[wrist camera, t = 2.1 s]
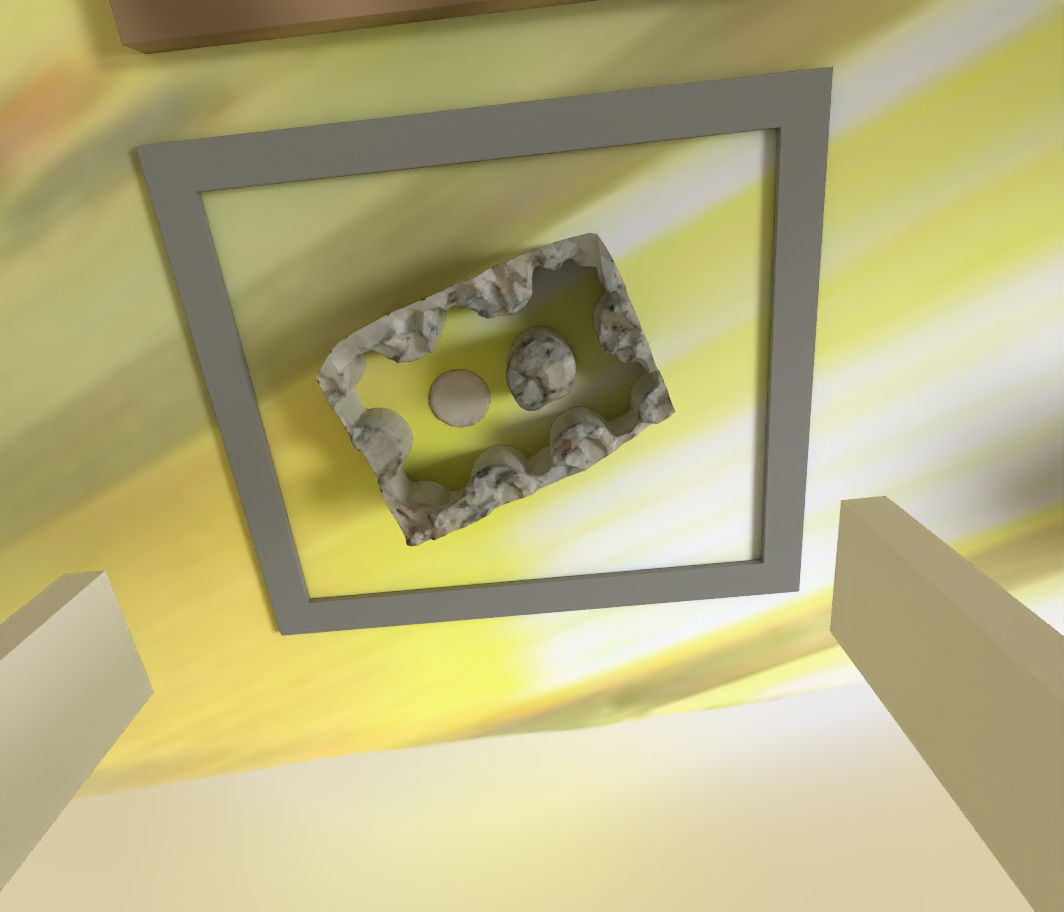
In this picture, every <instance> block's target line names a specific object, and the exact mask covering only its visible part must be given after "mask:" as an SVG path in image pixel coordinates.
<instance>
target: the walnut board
mask: <svg viewBox="0 0 1064 912" xmlns="http://www.w3.org/2000/svg"><path fill="white" fill-rule="evenodd" d="M586 1H594V0H110V4H111V7H112V11H113V14H114V18H115V21H116V24H117V28H118V31H119V35H120V38H121V42H122V45H125V46H127V47H130V48H132V49H135V50H137V51H140V52H142V53H145V54H149V53H158V52H166V51H174V50H183V49H191V48H200V47H208V46H216V45H225V44H233V43H242V42H250V41H258V40H267V39H275V38H284V37H292V36H300V35H309V34H317V33H326V32H334V31H342V30H351V29H359V28H368V27H376V26H384V25H393V24H401V23H410V22H418V21H426V20H435V19H443V18H452V17H460V16H468V15H477V14H485V13H493V12H502V11H510V10H519V9H527V8H535V7H544V6H552V5H561V4H569V3H577V2H586Z"/></svg>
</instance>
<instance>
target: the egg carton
mask: <svg viewBox="0 0 1064 912" xmlns="http://www.w3.org/2000/svg"><path fill="white" fill-rule="evenodd" d="M566 259H569V260H570V261H572V262H573V263H575V264H577V265H580V266H585V267H596V269H597V272H598V276H599V280H600V282H601V284H602V286H603V287H604V288H605V289H606V292H605V293H604V294H603V295H602V296H601V297H600V299H599V300H598V302H597V305H596V307H595V310H594V314H593V325H594V329H595V331H596V333H597V335H598V337H599V342H600V344H601V346H602V348H603V350H604V352H605V353H606V354H609V353H611V354H613V355H615V356H616V357H617V358H618V359H619V361H621V362H624V363H632V362H638V363H641V365H642V366H643V367H644V369H645V370H646V372H645V373H644V374H643V375H642V376H641V377H640V378H639V379H638V380H637V381H636V383H635V384H634V386H633V388H632V390H631V395H630V402H631V409H630V410H629V411H627V412H626V413H624V414H623V415H621V416H619V417H617V418H614V419H611V420H608V421H606V420H605V419H604V418H603V417H602V416H601V415H600V414H599V413H598V412H596V411H594V410H592V409H589V408H586V407H577V408H571V409H568V410H566V411H565V412H563V413H561V414H560V415H559V416H558V417H557V418H556V419H555V421H554V423H553V424H552V426H551V432H550V444H549V445H548V446H546V447H544V448H543V449H541V450H540V451H539V452H537V453H536V454H535V455H533V456H531V457H529V458H527V457H526V456H525V454H524V453H522V452H521V451H520V450H518V449H517V448H514V447H511V446H505V445H495V446H492V447H489V448H487V449H486V450H484V451H483V452H482V453H481V454H480V455H479V456H478V457H477V459H476V461H475V462H474V465H473V468H472V472H471V477H470V481H469V482H468V483H467V485H466V487H465V488H463V489H460V490H456V491H449V490H448V489H447V488H446V487H445V486H443V485H442V484H439V483H437V482H434V481H416V482H412V481H410V479H409V478H408V476H407V474H406V473H405V471H404V469H403V468H402V465H403V463H404V461H405V459H406V457H407V455H408V453H409V451H410V449H411V447H412V442H413V434H412V431H411V428H410V426H409V424H408V423H407V421H406V420H405V419H404V418H403V417H402V416H401V415H399V414H398V413H397V412H395V411H393V410H391V409H386V408H373V409H369V410H367V409H366V408H365V407H364V406H363V405H362V403H361V400H360V398H359V397H358V395H357V393H356V391H355V385H356V384H357V383H358V381H359V380H360V379H361V378H362V376H363V374H364V372H365V368H366V357H365V354H364V353H365V352H367V351H369V350H374V351H376V352H379V353H380V354H382V355H384V356H385V357H387V358H388V359H391V360H394V361H396V362H397V363H400V362H411V361H415V360H417V359H420V358H421V357H423V356H425V355H426V354H428V353H429V352H430V353H432V352H433V349H434V346H435V344H436V342H437V340H438V339H439V338H440V336H441V335H442V332H443V330H444V327H445V321H446V317H445V311H447V310H448V309H449V308H450V307H452V306H453V305H454V306H457V307H459V308H466V307H469V308H471V309H473V310H475V311H477V312H478V314H479V316H482V317H485V318H492V317H495V316H504V315H514V314H515V313H517V312H518V311H519V310H521V309H522V308H523V307H524V306H525V305H526V304H527V302H528V301H529V299H530V298H531V297H532V275H533V270H534V268H535V267H536V266H538V265H540V266H542V267H544V268H547V269H550V270H553V271H554V270H556V269H558V268H560V267H561V265H562V263H563V261H565V260H566ZM457 298H459V299H458V300H457V301H456V302H455V303H453V304H452V302H453V301H454V300H455V299H457ZM572 352H573V350H572V348H571V346H570V344H569V343H568V341H567V340H566V339H565V338H564V337H563V336H562V335H561V334H560V333H558V332H557V331H555V330H552V329H550V328H547V327H534V328H531V329H528V330H526V331H524V332H522V333H521V334H520V335H519V336H518V338H517V339H516V340H515V341H514V343H513V345H512V347H511V349H510V353H509V357H508V363H507V371H506V380H507V384H508V387H509V389H510V391H511V393H512V395H513V397H514V399H515V401H516V402H517V403H518V405H519V406H520V407H521V408H523V409H525V410H527V411H535V410H539V409H540V408H542V407H543V406H544V405H546V404H547V403H550V402H552V401H555V400H558V399H560V398H562V397H564V396H565V395H566V394H568V393H569V391H570V388H571V386H572V384H573V382H574V380H575V375H576V365H575V359H574V356H575V354H574V352H573V353H572ZM573 354H574V356H573ZM316 378H317V381H318V383H319V385H320V387H321V388H322V390H323V392H324V394H325V396H326V398H327V400H328V402H329V405H330V407H331V408H332V409H333V410H335V412H336V413H337V415H338V416H339V418H340V419H341V421H342V423H343V424H344V426H345V428H346V430H347V432H348V434H349V436H350V439H351V442H352V443H353V445H354V446H355V448H356V449H357V450H359V451H360V450H362V452H363V454H364V456H365V457H366V459H367V461H368V463H369V464H370V466H371V467H372V469H373V471H374V472H375V474H376V475H377V477H378V484H379V487H380V490H381V493H382V495H383V498H384V500H385V502H386V504H387V506H388V508H389V509H390V511H391V513H392V514H393V516H394V517H395V519H396V520H397V522H398V524H399V526H400V528H401V530H402V532H403V533H404V535H405V537H406V543H407V545H408V546H417V545H420V544H422V543H424V542H425V541H427V540H430V539H432V540H436V539H438V538H440V537H443V536H445V535H447V534H448V533H450V532H452V531H454V530H458V529H461V528H464V527H466V526H468V525H470V524H472V523H474V522H476V521H478V520H480V519H481V518H483V517H486V516H488V515H489V514H490V513H491V512H492V511H493V509H494V508H497V507H499V506H501V505H503V504H506V503H509V502H512V501H514V500H517V499H521V498H524V497H527V496H529V495H532V494H533V493H535V492H536V491H537V490H538V489H540V488H542V487H544V486H547V485H549V484H552V483H554V482H557V481H559V480H561V479H563V478H565V477H567V476H570V475H573V474H576V473H579V472H582V471H584V470H586V469H588V468H589V467H591V466H592V465H594V464H595V463H597V462H598V461H600V460H601V459H603V458H605V457H606V456H608V455H609V454H611V453H612V452H613V451H615V450H616V449H617V448H619V447H620V446H621V445H622V444H624V443H625V442H627V441H629V440H631V439H632V438H634V437H635V436H636V435H638V434H639V433H640V432H641V431H642V430H643V429H644V428H645V427H647V426H648V425H650V424H652V423H654V424H658V423H660V422H662V421H664V420H665V419H667V418H668V417H670V416H671V415H672V414H673V413H674V412H675V410H674V408H673V406H672V403H671V400H670V397H669V394H668V391H667V388H666V386H665V383H664V381H663V378H662V376H661V374H660V371H659V369H657V367H656V365H655V362H654V359H653V356H652V353H651V350H650V347H649V344H648V342H647V339H646V337H645V335H644V333H643V331H642V329H641V326H640V323H639V321H638V318H637V316H636V313H635V311H634V309H633V306H632V304H631V302H630V299H629V297H628V295H627V292H626V287H625V284H624V282H623V280H622V278H621V276H620V273H619V271H618V269H617V267H616V265H615V263H614V261H613V259H612V257H611V255H610V253H609V252H608V250H607V249H606V247H605V246H604V244H603V242H602V241H601V239H600V238H599V236H598V234H593V233H588V234H584V235H580V236H576V237H572V238H568V239H564V240H561V241H558V242H555V243H552V244H549V245H546V246H543V247H541V248H538V249H535V250H532V251H529V252H527V253H524V254H522V255H520V256H517V257H515V258H513V259H511V260H509V261H508V262H506V263H503V264H500V265H496V266H494V267H492V268H490V269H488V270H486V271H485V272H483V273H482V274H480V275H479V276H476V277H474V278H472V279H469V280H466V281H463V282H460V283H457V284H455V285H452V286H450V287H448V288H446V289H445V290H443V291H440V292H438V293H436V294H434V295H431V296H429V297H427V298H424V299H422V300H420V301H418V302H415V303H413V304H411V305H408V306H406V307H404V308H401V309H399V310H396V311H394V312H391V313H389V314H387V315H385V316H384V317H382V318H380V319H378V320H376V321H374V322H373V323H371V324H369V325H367V326H365V327H363V328H362V329H360V330H358V331H356V332H354V333H353V334H351V335H350V336H348V337H346V338H345V339H343V340H342V341H340V342H339V343H338V344H337V345H336V346H335V347H334V348H333V349H332V351H331V352H330V353H329V355H328V357H327V359H326V360H325V362H324V364H323V366H322V367H321V369H320V371H319V372H318V374H317V375H316ZM429 400H430V405H431V408H432V410H433V412H434V413H435V415H436V416H437V417H438V419H440V420H443V422H445V423H447V424H448V425H450V426H456V427H466V426H471V425H474V424H475V423H476V422H478V421H480V420H481V418H483V417H484V416H485V414H486V412H487V410H488V408H489V404H490V393H489V390H488V386H487V385H486V384H485V383H484V381H483V380H482V379H481V378H480V377H478V376H477V375H475V374H474V373H472V372H470V371H465V370H451V371H448V372H445V373H443V374H442V375H441V376H439V377H438V378H437V379H436V381H435V382H434V383H433V385H432V388H431V392H430V397H429Z"/></svg>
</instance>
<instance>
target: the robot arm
mask: <svg viewBox="0 0 1064 912" xmlns="http://www.w3.org/2000/svg"><path fill="white" fill-rule="evenodd" d="M830 632H831V633H832V634H833V636H834V637H835V639H836V640H837V641H838V643H839V644H840V645H841V647H842V648H843V649H844V651H845V652H846V654H847V655H848V656H849V658H850V659H851V660H852V662H853V663H854V665H855V666H856V667H857V669H858V670H859V671H860V673H861V674H862V675H863V677H864V678H865V680H866V681H867V682H868V683H869V685H870V686H871V688H872V689H873V691H874V692H875V693H876V695H877V696H878V697H879V699H880V700H881V701H882V703H883V704H884V706H885V707H886V708H887V710H888V711H889V712H890V714H891V715H892V716H893V718H894V719H895V721H896V722H897V723H898V725H899V726H900V727H901V729H902V730H903V732H904V733H905V734H906V736H907V737H908V738H909V740H910V741H911V743H912V744H913V745H914V747H915V748H916V749H917V751H918V752H919V753H920V755H921V756H922V758H923V759H924V760H925V762H926V763H927V765H928V766H929V767H930V768H931V770H932V771H933V773H934V774H935V775H936V777H937V778H938V779H939V781H940V782H941V784H942V785H943V786H944V788H945V789H946V790H947V792H948V793H949V794H950V796H951V797H952V799H953V800H954V801H955V803H956V804H957V806H958V807H959V808H960V810H961V811H962V812H963V814H964V815H965V817H966V818H967V819H968V821H969V822H970V823H971V825H972V826H973V827H974V829H975V830H976V832H977V833H978V834H979V836H980V837H981V838H982V840H983V841H984V842H985V844H986V845H987V847H988V848H989V849H990V851H991V852H992V854H993V855H994V856H995V858H996V859H997V860H998V862H999V863H1000V864H1001V866H1002V867H1003V869H1004V870H1005V871H1006V873H1007V874H1008V875H1009V877H1010V878H1011V880H1012V881H1013V882H1014V884H1015V885H1016V886H1017V887H1018V889H1019V890H1020V892H1021V893H1022V895H1023V896H1024V897H1025V899H1026V900H1027V901H1028V903H1029V904H1030V906H1031V907H1032V908H1033V910H1034V911H1035V912H1064V636H1063V635H1061V634H1060V633H1059V632H1058V631H1056V630H1055V629H1054V628H1052V627H1051V626H1050V625H1049V624H1047V623H1046V622H1045V621H1044V620H1042V619H1041V618H1040V617H1039V616H1037V615H1036V614H1035V613H1033V612H1032V611H1031V610H1030V609H1028V608H1027V607H1026V606H1025V605H1023V604H1022V603H1021V602H1019V601H1018V600H1017V599H1016V598H1014V597H1013V596H1012V595H1011V594H1009V593H1008V592H1007V591H1005V590H1004V589H1003V588H1002V587H1000V586H999V585H998V584H997V583H995V582H994V581H993V580H991V579H990V578H989V577H988V576H986V575H985V574H984V573H983V572H981V571H980V570H979V569H977V568H976V567H975V566H974V565H972V564H971V563H970V562H969V561H967V560H966V559H965V558H964V557H962V556H961V555H960V554H958V553H957V552H956V551H955V550H953V549H952V548H951V547H950V546H948V545H947V544H946V543H944V542H943V541H942V540H941V539H939V538H938V537H937V536H936V535H934V534H933V533H932V532H930V531H929V530H928V529H927V528H925V527H924V526H923V525H922V524H920V523H919V522H918V521H916V520H915V519H914V518H913V517H911V516H910V515H909V514H908V513H906V512H905V511H904V510H903V509H901V508H900V507H899V506H897V505H896V504H895V503H894V502H892V501H891V500H890V499H889V498H887V497H886V496H881V497H871V498H861V499H850V500H841V509H840V520H839V532H838V544H837V555H836V567H835V578H834V590H833V602H832V613H831V625H830ZM153 693H154V691H153V689H152V686H151V684H150V681H149V679H148V676H147V674H146V671H145V669H144V666H143V664H142V661H141V659H140V656H139V654H138V651H137V649H136V646H135V644H134V641H133V639H132V636H131V634H130V631H129V629H128V626H127V624H126V621H125V619H124V616H123V614H122V611H121V609H120V606H119V604H118V601H117V599H116V596H115V594H114V591H113V589H112V586H111V584H110V581H109V579H108V576H107V574H106V571H95V572H85V573H74V574H64V575H62V576H61V577H60V578H58V579H57V580H56V581H55V582H53V583H52V584H51V585H50V586H48V587H47V588H46V589H45V590H43V591H42V592H41V593H39V594H38V595H37V596H36V597H34V598H33V599H32V600H31V601H29V602H28V603H27V604H26V605H24V606H23V607H22V608H20V609H19V610H18V611H17V612H15V613H14V614H13V615H12V616H10V617H9V618H8V619H7V620H5V621H4V622H3V623H1V624H0V892H1V890H2V889H3V888H4V886H5V885H6V884H7V882H8V881H9V880H10V879H11V877H12V876H13V875H14V873H15V872H16V871H17V869H18V868H19V867H20V866H21V864H22V863H23V862H24V860H25V859H26V858H27V856H28V855H29V854H30V853H31V851H32V850H33V849H34V847H35V846H36V844H37V843H38V842H39V840H41V838H42V837H43V835H44V834H45V833H46V832H47V830H48V829H49V828H50V826H51V825H52V824H53V822H54V821H55V820H56V819H57V817H58V816H59V815H60V813H61V812H62V811H63V810H64V808H65V807H66V806H67V804H68V803H69V802H70V800H71V799H72V798H73V797H74V795H75V794H76V793H77V791H78V790H79V789H80V787H81V786H82V785H83V784H84V782H85V781H86V780H87V778H88V777H89V776H90V774H91V773H92V772H93V771H94V769H95V768H96V767H97V765H98V764H99V763H100V761H101V760H102V759H103V758H104V756H105V755H106V754H107V752H108V751H109V750H110V748H111V747H112V746H113V745H114V743H115V742H116V741H117V739H118V738H119V737H120V735H121V734H122V733H123V732H124V730H125V729H126V728H127V726H128V725H129V724H130V722H131V721H132V720H133V719H134V717H135V716H136V715H137V713H138V712H139V711H140V709H141V708H142V707H143V706H144V704H145V703H146V702H147V700H148V699H149V698H150V696H151V695H152V694H153Z"/></svg>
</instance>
